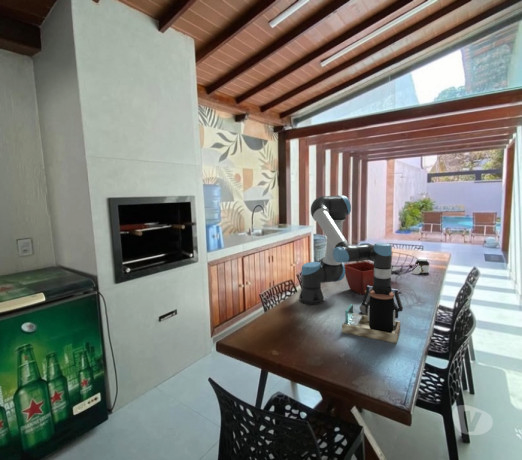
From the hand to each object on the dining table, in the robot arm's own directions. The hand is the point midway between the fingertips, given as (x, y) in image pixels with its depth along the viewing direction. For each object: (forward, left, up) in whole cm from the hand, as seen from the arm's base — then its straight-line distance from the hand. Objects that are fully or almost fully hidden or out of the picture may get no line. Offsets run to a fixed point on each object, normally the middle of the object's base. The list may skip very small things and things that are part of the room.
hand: (381, 322), depth 141 cm
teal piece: (-13, 0, -4) cm, 14 cm away
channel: (-4, 0, -5) cm, 7 cm away
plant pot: (-19, +56, -6) cm, 60 cm away
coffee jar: (0, 0, -4) cm, 4 cm away
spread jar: (+12, +115, -6) cm, 116 cm away
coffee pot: (-3, +19, -6) cm, 20 cm away
